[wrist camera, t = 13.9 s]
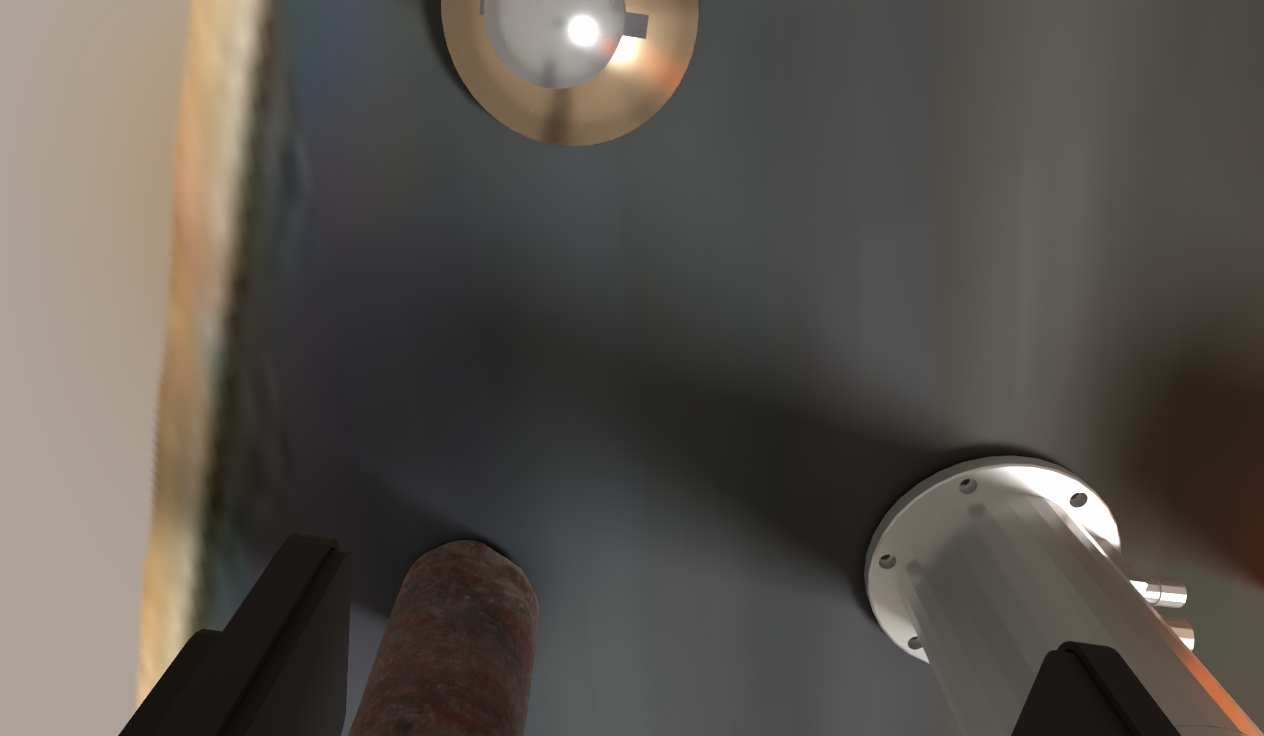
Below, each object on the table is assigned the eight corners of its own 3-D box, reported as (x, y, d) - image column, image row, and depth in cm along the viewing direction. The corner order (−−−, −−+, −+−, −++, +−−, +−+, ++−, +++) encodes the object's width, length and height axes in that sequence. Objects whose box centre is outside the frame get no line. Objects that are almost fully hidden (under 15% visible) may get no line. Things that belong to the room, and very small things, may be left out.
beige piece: (716, -108, 32) (740, -144, 25) (676, 158, 36) (686, 195, 29) (453, -149, 32) (398, -198, 24) (440, 125, 36) (389, 154, 28)
